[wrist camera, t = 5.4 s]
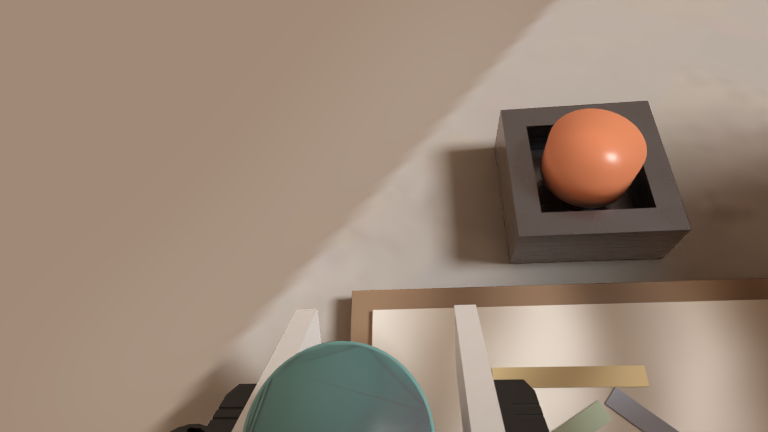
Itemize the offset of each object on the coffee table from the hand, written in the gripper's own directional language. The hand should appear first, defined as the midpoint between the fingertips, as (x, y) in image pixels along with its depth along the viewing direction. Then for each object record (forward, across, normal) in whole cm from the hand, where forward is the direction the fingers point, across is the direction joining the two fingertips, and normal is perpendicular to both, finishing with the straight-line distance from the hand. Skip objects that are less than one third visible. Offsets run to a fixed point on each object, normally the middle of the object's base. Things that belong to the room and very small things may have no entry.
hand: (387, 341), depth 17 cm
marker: (0, 0, -5) cm, 5 cm away
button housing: (+9, +9, +2) cm, 13 cm away
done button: (+7, +9, +4) cm, 12 cm away
